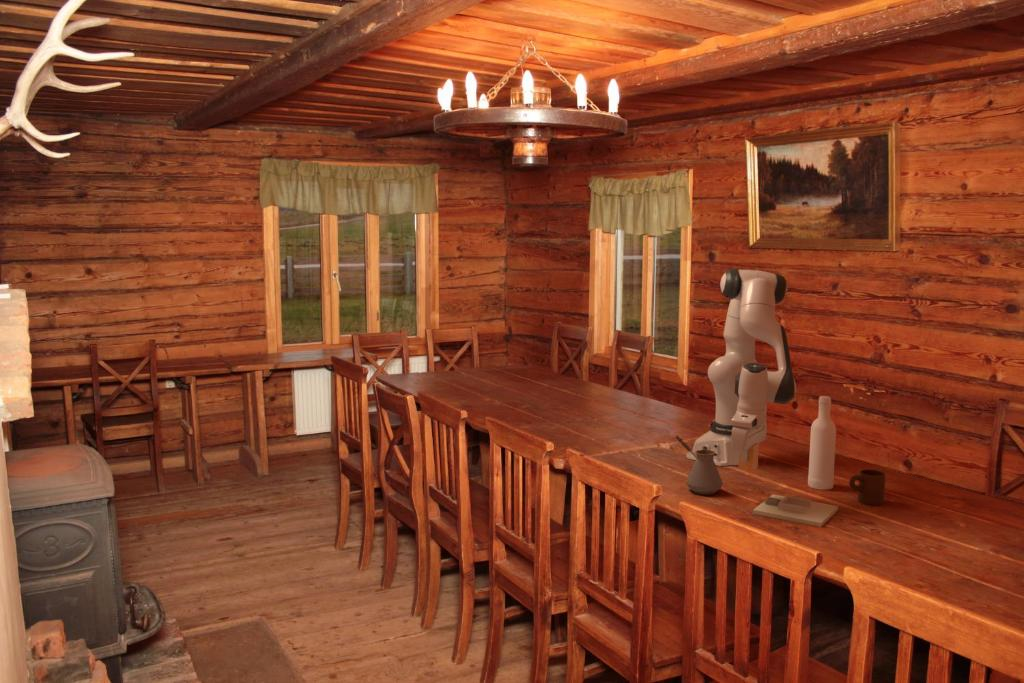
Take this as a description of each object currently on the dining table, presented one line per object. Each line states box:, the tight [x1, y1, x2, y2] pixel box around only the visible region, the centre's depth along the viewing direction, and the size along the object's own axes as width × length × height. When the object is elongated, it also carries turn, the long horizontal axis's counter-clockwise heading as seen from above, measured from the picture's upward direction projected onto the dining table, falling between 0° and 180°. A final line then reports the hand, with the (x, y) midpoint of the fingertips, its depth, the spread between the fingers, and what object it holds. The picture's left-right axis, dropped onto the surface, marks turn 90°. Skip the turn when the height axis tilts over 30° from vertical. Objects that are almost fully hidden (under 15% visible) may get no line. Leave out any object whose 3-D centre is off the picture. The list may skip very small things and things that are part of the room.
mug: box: [848, 469, 886, 506], centre depth 278 cm, size 12×8×9 cm, turn 108°
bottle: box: [807, 395, 837, 491], centre depth 293 cm, size 8×8×30 cm
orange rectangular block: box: [737, 443, 760, 472], centre depth 279 cm, size 4×4×8 cm
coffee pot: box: [672, 435, 723, 495], centre depth 293 cm, size 21×12×15 cm, turn 27°
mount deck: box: [752, 494, 839, 528], centre depth 270 cm, size 20×18×3 cm
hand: (748, 459), depth 279 cm, fingers closed on orange rectangular block, 4 cm apart
